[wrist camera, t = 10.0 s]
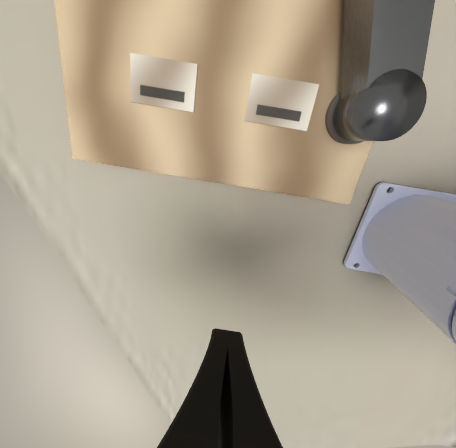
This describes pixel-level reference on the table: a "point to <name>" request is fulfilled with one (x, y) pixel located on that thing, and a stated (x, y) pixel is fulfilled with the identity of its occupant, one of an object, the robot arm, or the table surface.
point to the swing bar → (383, 68)
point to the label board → (211, 91)
